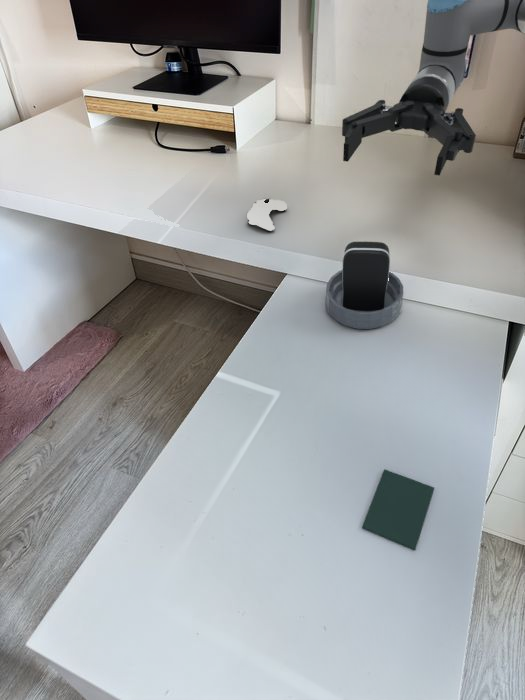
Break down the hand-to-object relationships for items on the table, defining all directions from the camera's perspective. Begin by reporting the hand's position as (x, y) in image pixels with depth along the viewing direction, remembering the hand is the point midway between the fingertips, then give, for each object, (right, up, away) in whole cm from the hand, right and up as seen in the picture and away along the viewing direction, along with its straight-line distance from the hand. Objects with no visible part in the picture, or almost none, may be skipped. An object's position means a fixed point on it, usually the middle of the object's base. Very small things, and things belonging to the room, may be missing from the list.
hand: (390, 159), depth 73 cm
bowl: (-2, -20, +10) cm, 22 cm away
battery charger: (-2, -20, +10) cm, 22 cm away
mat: (-3, -46, -15) cm, 48 cm away
